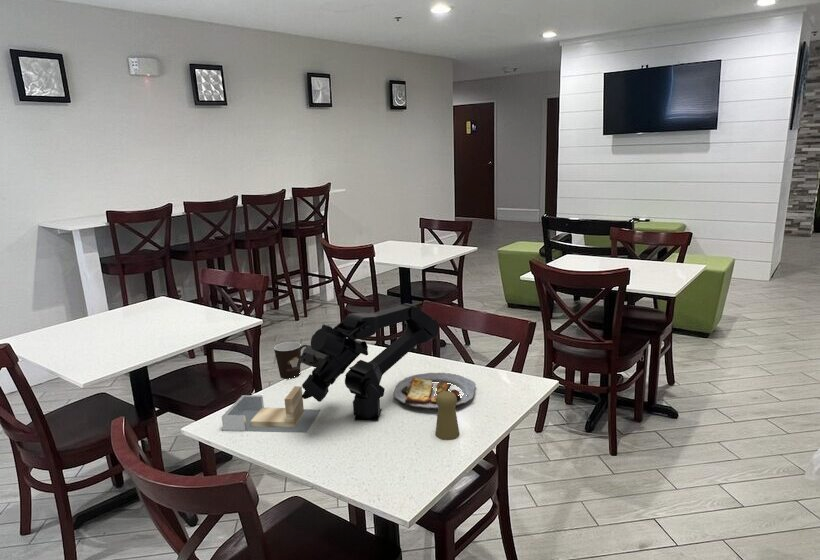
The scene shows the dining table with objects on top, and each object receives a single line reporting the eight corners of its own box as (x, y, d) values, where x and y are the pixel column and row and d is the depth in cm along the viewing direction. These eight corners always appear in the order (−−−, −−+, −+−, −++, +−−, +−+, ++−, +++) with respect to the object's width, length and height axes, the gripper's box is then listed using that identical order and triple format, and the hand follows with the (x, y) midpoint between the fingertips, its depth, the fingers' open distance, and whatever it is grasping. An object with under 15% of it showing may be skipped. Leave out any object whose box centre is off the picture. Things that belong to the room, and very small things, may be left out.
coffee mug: (277, 382, 175) (274, 352, 173) (276, 372, 183) (273, 343, 181) (314, 376, 178) (311, 347, 176) (311, 367, 186) (309, 339, 184)
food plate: (470, 416, 147) (470, 403, 146) (385, 412, 152) (385, 400, 151) (478, 381, 171) (478, 370, 170) (404, 378, 176) (404, 368, 175)
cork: (444, 426, 143) (443, 386, 140) (464, 432, 139) (463, 392, 136) (430, 435, 138) (429, 394, 136) (450, 442, 134) (449, 400, 132)
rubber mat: (320, 410, 154) (320, 409, 154) (306, 433, 142) (306, 432, 141) (242, 409, 157) (242, 408, 157) (221, 432, 144) (221, 430, 144)
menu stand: (304, 413, 152) (301, 386, 150) (294, 427, 144) (291, 399, 143) (262, 412, 154) (259, 385, 152) (250, 426, 146) (247, 398, 144)
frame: (264, 408, 156) (262, 395, 155) (245, 431, 144) (243, 417, 143) (243, 408, 157) (242, 395, 156) (223, 430, 144) (221, 416, 143)
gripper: (326, 326, 151) (291, 364, 155) (306, 350, 133) (267, 392, 137) (357, 353, 152) (321, 390, 156) (341, 380, 134) (301, 421, 138)
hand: (303, 397), depth 146 cm, fingers closed
